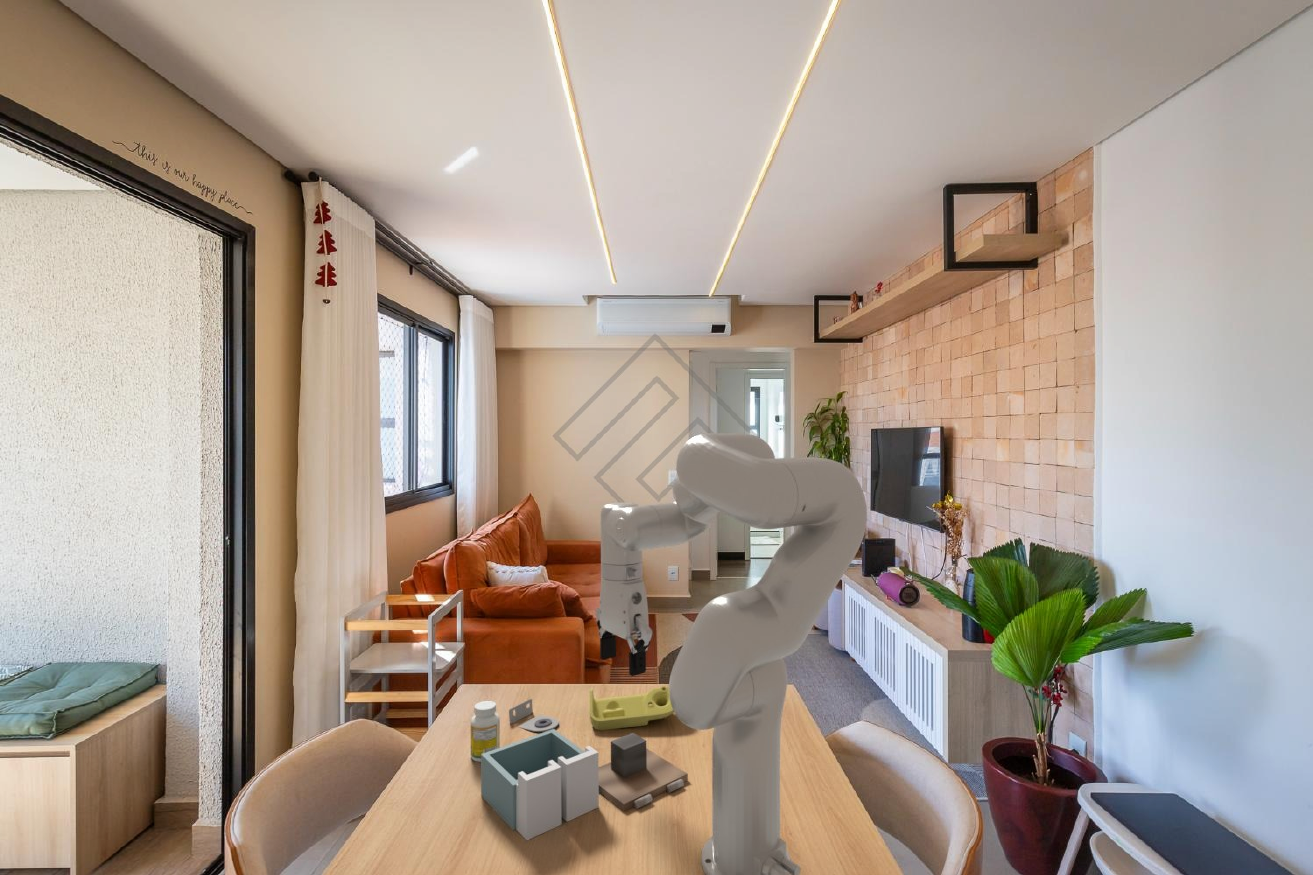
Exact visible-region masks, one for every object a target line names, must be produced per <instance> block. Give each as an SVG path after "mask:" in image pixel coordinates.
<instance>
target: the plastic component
mask: <svg viewBox="0 0 1313 875" xmlns="http://www.w3.org/2000/svg"><path fill="white" fill-rule="evenodd" d="M594 696H595V695H594V689H589V716H590V717H589V718H590V724H591V726H592V727H593V728H594V730H595V729H596V730H599V731H604V730H616V729H625V728H633V727H634V728H635V727H642V726H647V725H648V723H649V721H654V720H662V719H664V720H666V719H667V717H668V716H669V717H670V715H672V714H675V713H674V711H673V708H672V705H671V702H670V697H669V685H668V686H666V685H664V686H663V685H662V686H659V687H654V688H652V689H650V690H648V691H647V693H642V694H640V693H639V694H632V695H623V696H613V697H604V698H596V699H595V697H594Z"/></svg>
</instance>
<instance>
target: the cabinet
mask: <svg viewBox="0 0 1313 875" xmlns="http://www.w3.org/2000/svg"><path fill="white" fill-rule="evenodd" d="M480 765H481V766H480V780H481V781H480V785H481V786H480V788H481V789H480V792H481V794H480V796H481V797H482V798H483V800H485V802H486V803H488V805H489V806H490V807H491V808H492V809H493V810H494V811H495V812H496V813H497V815H498V816H499V817H500V818H501V819H502V820H503V821H504V822H505V823H506V824H507V825H508V827H509V828H510V829H511V830H512V831H518V833H519V835H521V836H522V837H523V838H524V840H526V841H529V840H531V839H533V838H535V837H537V836H539V835H541V834H543V833H544V834H545V833H546V832H548V831H550V830H553V829H555V828H557V827H559V826H561V825H562V819H563V820H565V822H570V821H571V820H574V819H576V818H578V817H580V816H582V815H584V814H587V813H589V812H591V811H593V810H595V809H598V808H599V807H600V806H599V804H600V803H599V798H600V797H599V796H600V794H599V793H600V792H599V773H598V767H599V751H597V750H596V749H594V748H593V747H592V746H590V745H587V746H584V750H583V749H582V748H580V747H579V746H578V745H576V744H575V743H574V742H572V741H571V740H569V739H568V738H567V737H566V736H565V735H563V734H561V733H560V732H558V731H557V730H556V728H553V729H551V730H548V731H544V732H542V733H541V732H540V733H538V734H536V735H535V734H534V735H533V736H529V737H527V738H523V739H521V740H518V741H515V742H512V743H509V744H506V745H503V746H500V748H498V749H495V750H492V751H489V752H486V753H483V754H481V762H480Z"/></svg>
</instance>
